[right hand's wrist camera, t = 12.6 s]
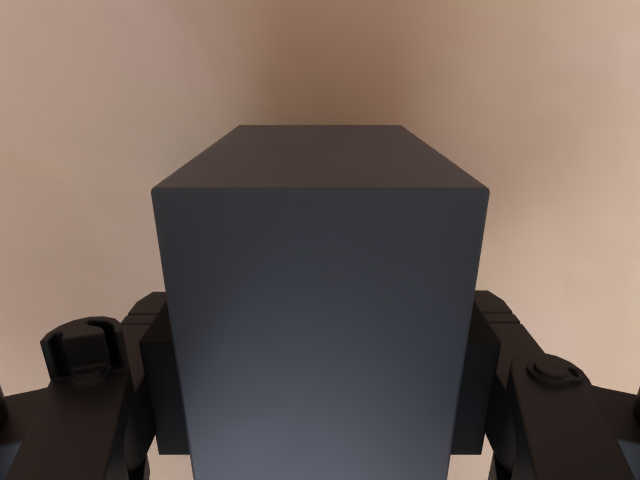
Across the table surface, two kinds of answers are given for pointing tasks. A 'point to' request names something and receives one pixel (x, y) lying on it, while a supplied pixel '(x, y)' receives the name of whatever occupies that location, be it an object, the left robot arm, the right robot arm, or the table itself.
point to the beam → (320, 301)
